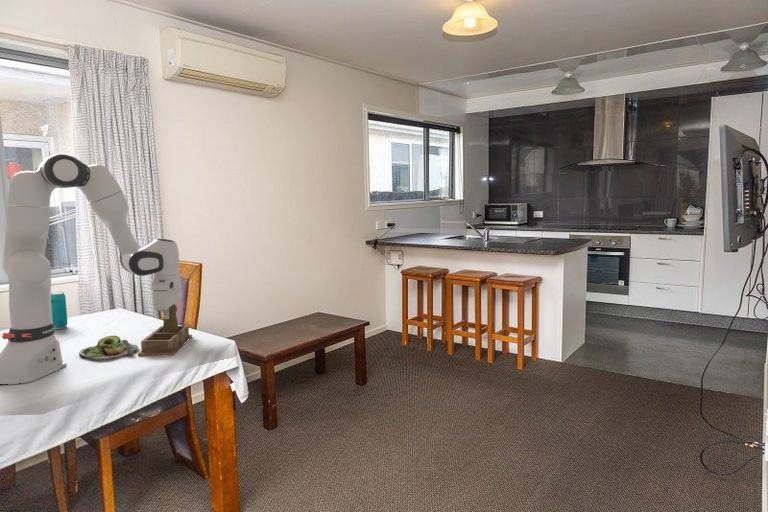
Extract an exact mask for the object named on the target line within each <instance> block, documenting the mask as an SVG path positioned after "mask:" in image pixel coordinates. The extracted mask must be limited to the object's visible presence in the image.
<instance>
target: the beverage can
mask: <svg viewBox="0 0 768 512" xmlns="http://www.w3.org/2000/svg"><path fill="white" fill-rule="evenodd" d="M51 312H52V322H54V326H55V330H62V329H66V328H67V326H68V323H69V322H68V313H67V312H68V311H67V299H66V295H65V292H64V291H53V292H51Z"/></svg>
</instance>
